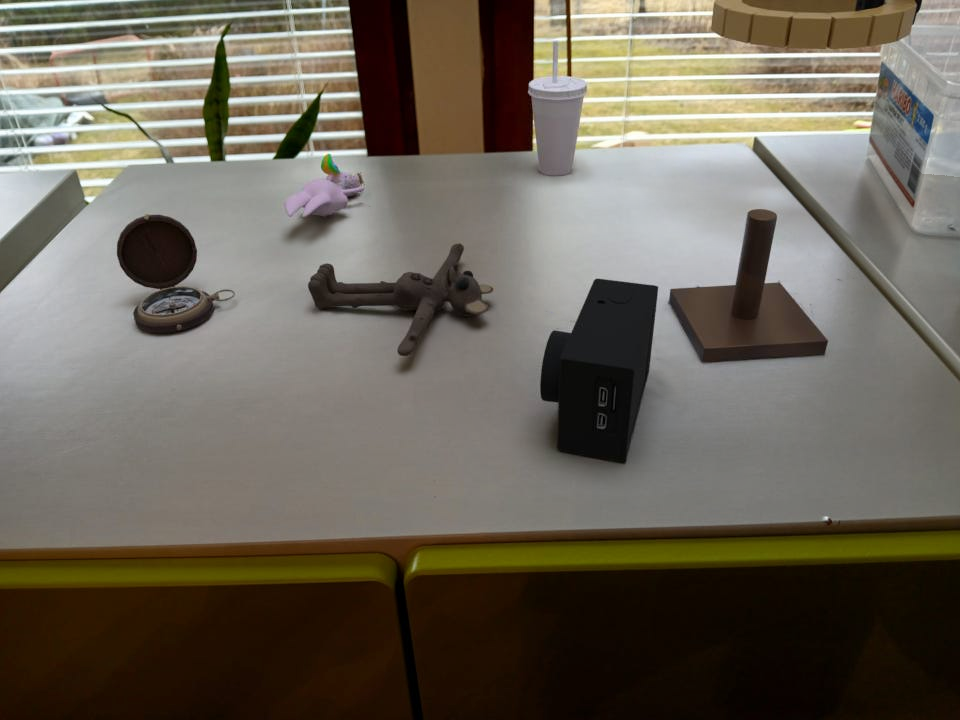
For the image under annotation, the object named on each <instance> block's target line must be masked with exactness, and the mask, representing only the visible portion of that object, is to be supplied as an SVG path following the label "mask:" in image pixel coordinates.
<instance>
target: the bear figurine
mask: <svg viewBox="0 0 960 720" xmlns="http://www.w3.org/2000/svg"><path fill="white" fill-rule="evenodd" d="M464 250H465V246H464V245H463V244H462V243H459V242H458V243H454V244H452V246H451V247H450V249H449V253H448V255H447V257H446V259H445V260H444V262H443V263H442V265H441V266H440V268H439V269H438V270H437V272H436V274H435V275H434V276H433V278H432V277H429V276H426V275H424V274H422V273H420V272H413V271H406V272H404V273H402V274H401V276H400V277H398V279H397V280H396V281H395V282H387V281H385V280H384V281H383V280H381V281H380V282H362V283H361V282H359V283H358V282H357V283H354V282H353V283H346V282H343V281H337V277H336V274H335V268H334V266H333V264H331V263H323V264H320V265H319V267H318V269H317V271H316V273H314V274H313V275H311V276H310V279H309V281H308V283H307V288H308V291H309V293H310V295H311V298H312V300H313V303H314V305H315V308H317V309H319V310H322V309H326V308H330V307H335V308H339V307H352V309H357V308H360V307H386V306H387V307H392V306H395V307H397V308H398V309H400V310H404V311H416V312H415V314H414V317H413V319H412V322H411V324H410V326H409V328H408V331H407V333H406V334H405V336H404V337H403V339H402V340H401V342H400V344H398V346H397V354H398V355H399V356H401V357H407V356H409V355H412V354H413V353H414V351H415V349H416V347H417V346H418V344H419V342H420V339H421V337H422V335H423V333H424V332H425V330H426V327H427V326H428V323H429V321H430V320H431V319H432V318H433V316H434V313H435V312H439V311H440V310H442V309H443V308H444V306H445V303H446V302H449V304H450V306H451V307H452V309H453V310H454V311H455V312H456V313H457V314H458V315H461V316H464V317H467V316H472V315H480V314H484V313H486V312H487V311H488V310H489V307H490V306H489V305H488V304H486V303H485V301H483V296H482V295H487V294H488V295H489V294H492V293H493V292H494V287H493V286H491V285H488V284H479V282H478V281H477V280H476V278H475V277H474V273H473V272H472V271H471V270H465V271H463V272H462V273H461V272H460V270H459V263H460V261H461V258H462V255H463V253H464Z"/></svg>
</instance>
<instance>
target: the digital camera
mask: <svg viewBox="0 0 960 720" xmlns="http://www.w3.org/2000/svg"><path fill="white" fill-rule="evenodd" d="M658 294H659V286H658V285H655V284H647V283H638V282H629V281H621V280H613V279H607V278H606V279H605V278H595V279H593V281H592V284H591V285H590V288H589V291H588V293H587V296H586V298H585V300H584V303H583V305H582V307H581V309H580V311H579V314H578V316H577V318H576V321H575V323H574V325H573V328H572V330H571V332H567V331H561V330H557V329H555V330H552V331H551V333H550V335H549V336H548V339H547V341H546V345H545V348H544V353H543V358H542V363H541V368H540V369H541V370H540V383H539V384H540V385H539V386H540V387H539V388H540V389H539V390H540V398H541V400H542V401H544V402H550V403H556V404H558V409H557V412H558V413H557V436H556V437H557V439H556V440H557V441H556V449H557V450H558V451H559V452H563V453H569V454H573V455H580V456H585V457H590V458H596V459H601V460H606V461H613V462H616V463H617V462H618V463H622V464H625V463H626V462H627V458H628V454H629V451H630V446H631V443H632V438H633V435H634V432H635V428H636V424H637V420H638V417H639V411H640V408H641V404H642V401H643V396H644V392H645V388H646V385H647V381H648V377H649V374H650V366H651V359H652V348H653V340H654V331H655V322H656V321H655V320H656V314H657V313H656V312H657V304H658Z"/></svg>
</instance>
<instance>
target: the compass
mask: <svg viewBox="0 0 960 720" xmlns="http://www.w3.org/2000/svg"><path fill="white" fill-rule="evenodd" d="M116 257H117V260H118V263H119V267H120V268H121V270H122V271H123V273H124V274H125V275H126V276H127V277H128V278H129V279H130V280H131V281H133V283H136V284H138V285H140V286H142V287H144V288H148V289H154V290H155V289H156V290H157V291H154V292H152V293H150V294H148V295H147V296H146V297H145V298H143V299H142V300H141V302H139V303H138V304H137V306H136V307H135V308H134V310H133V313H132V314H133V319H134V322H135V325H136V326H137V327H138V328H140V329H142V330H144V331H147V332H150V333H157V334H163V333H164V334H166V333H168V334H169V333H175V332H180V331H184V330H187V329H190V328H193V327H195V326H197V325H199V324H201V323H203V321H205V320H206V319H207V318H208V317H209V316H210V315H212V312H213V311H214V307H215V306H214V302H215V301H216V302H225V301H228V300H231V299H233V298H234V297H235V296H236V292H235V291H234V290H233V289H220V290H217V291H215V292H214V293H212V294H209V293H208V292H206V291H203V290H200V289H197V288H195V287H192V286H178V285H179V284H180V283H182V282H183V281H185V280H186V279H188V277H189V276H190V275H191V273H192V272H193V271H194V268H195V266H196V264H197V259H198V258H197V257H198V248H197V244H196V240H195V238H194V237H193V235H192V233H191V232H190V230H189V229H188V228H187V227H186V226H185V225H184V224H183V223H182V222H181V221H179V220H177V219H175V218H172V217H171V216H167V215H163V214H149V213H146V214H144V215H143V216H141V217H138V218H135V219H134V220H132V221H131V222H129V223H128V224H127V225H126V226H125V227H124V228H123V230H122V231H121V232H120V233H119V237H118V239H117V242H116ZM222 292H223V293H224V292H230V293H232V294H231V295H230V296H229V297H226V298H220V295H219V294H220V293H222Z"/></svg>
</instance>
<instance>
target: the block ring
mask: <svg viewBox="0 0 960 720" xmlns="http://www.w3.org/2000/svg"><path fill="white" fill-rule="evenodd" d="M856 2H857V0H714V2H713V8H712V17H711V25H710V30H711V31H712V32H713V33H715V34H716V35H717V36H719V37H721V38H723V39H728V40H731V41H736V42H740V43H744V44H750V45H753V46H754V45H756V46H763V47H771V48H772V47H773V48H781V49H784V48H786V47H787V48H788V49H800V50H801V49H804V50H827V48H828V49H830V50H841V49H857V48H866V47H869V48H870V47H877V46H882V45H886V44H892V43H896V42H899V41H901V40H903V39H905V38H907V37H908V36H910V35H911V32H912V27H913V25H914V24H913V20H914V16H915V11H916V7H917V4H916V2H915V1H914V0H884V4H883V6H880V7H878V8H873V9H867V10H861V11H855V7H856ZM912 24H913V25H912Z"/></svg>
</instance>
